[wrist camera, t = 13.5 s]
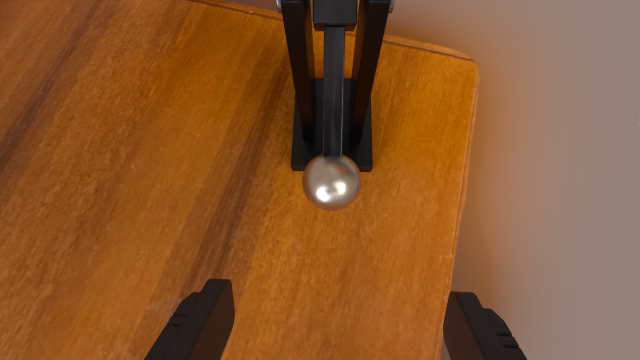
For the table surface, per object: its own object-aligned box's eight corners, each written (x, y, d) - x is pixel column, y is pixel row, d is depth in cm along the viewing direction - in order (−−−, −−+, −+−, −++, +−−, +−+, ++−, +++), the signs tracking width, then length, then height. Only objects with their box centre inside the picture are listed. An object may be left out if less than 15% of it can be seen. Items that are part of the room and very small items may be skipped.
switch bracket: (371, 172, 29) (417, 43, 14) (292, 171, 29) (253, 43, 14) (368, 85, 31) (405, -99, 16) (297, 85, 32) (269, -98, 17)
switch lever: (357, 200, 22) (362, 221, 18) (304, 199, 22) (299, 219, 18) (367, -22, 18) (375, -47, 15) (303, -21, 18) (296, -46, 15)
